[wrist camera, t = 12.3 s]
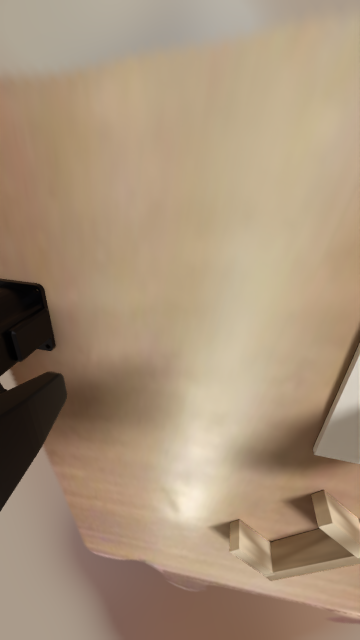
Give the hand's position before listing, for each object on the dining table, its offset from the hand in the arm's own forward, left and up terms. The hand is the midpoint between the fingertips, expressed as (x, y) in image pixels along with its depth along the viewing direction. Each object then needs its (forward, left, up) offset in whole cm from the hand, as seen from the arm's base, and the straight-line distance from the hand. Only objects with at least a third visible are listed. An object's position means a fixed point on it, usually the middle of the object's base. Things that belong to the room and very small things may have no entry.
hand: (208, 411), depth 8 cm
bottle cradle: (+11, -29, -13) cm, 34 cm away
